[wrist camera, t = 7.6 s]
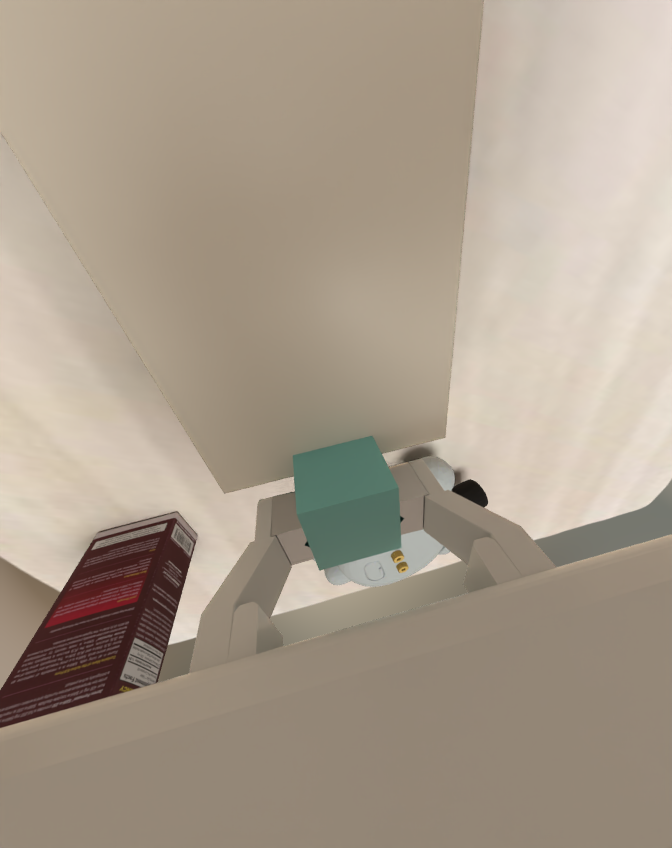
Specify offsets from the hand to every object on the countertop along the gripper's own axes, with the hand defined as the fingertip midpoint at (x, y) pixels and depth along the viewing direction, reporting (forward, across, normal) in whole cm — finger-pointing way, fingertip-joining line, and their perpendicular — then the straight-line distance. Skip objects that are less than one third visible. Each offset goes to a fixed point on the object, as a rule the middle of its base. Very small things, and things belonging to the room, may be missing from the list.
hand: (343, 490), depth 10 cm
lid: (+2, 0, -5) cm, 6 cm away
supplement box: (+14, +21, +15) cm, 30 cm away
